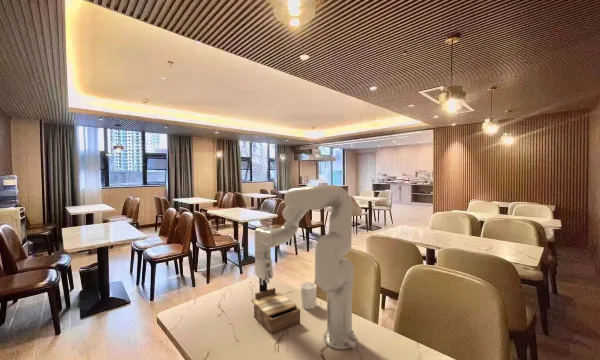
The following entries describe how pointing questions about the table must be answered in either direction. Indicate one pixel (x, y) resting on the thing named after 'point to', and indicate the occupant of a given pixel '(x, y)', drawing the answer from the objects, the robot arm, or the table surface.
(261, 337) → the table surface
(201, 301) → the table surface
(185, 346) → the table surface
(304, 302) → the white cup
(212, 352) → the table surface
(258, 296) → the tea box lid
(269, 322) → the tea box
